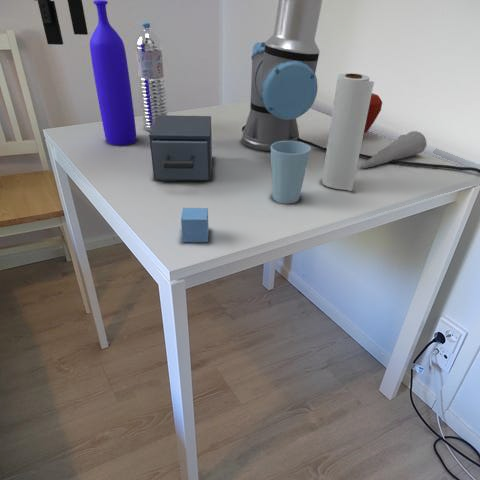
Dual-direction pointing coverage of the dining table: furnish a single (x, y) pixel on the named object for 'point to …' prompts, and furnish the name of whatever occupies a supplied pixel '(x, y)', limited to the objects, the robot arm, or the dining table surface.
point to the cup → (288, 170)
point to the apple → (373, 111)
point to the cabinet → (183, 133)
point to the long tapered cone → (399, 149)
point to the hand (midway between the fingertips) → (69, 39)
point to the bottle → (112, 81)
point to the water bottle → (150, 76)
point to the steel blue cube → (194, 224)
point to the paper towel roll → (346, 130)
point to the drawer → (180, 159)
